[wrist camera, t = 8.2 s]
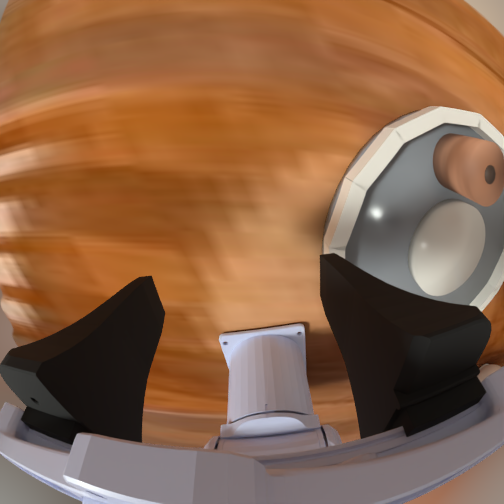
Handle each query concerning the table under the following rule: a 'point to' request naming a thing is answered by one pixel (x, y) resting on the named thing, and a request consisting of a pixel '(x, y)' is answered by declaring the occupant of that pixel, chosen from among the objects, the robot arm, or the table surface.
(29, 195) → the table surface
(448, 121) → the groove tray
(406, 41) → the table surface
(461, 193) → the bead
